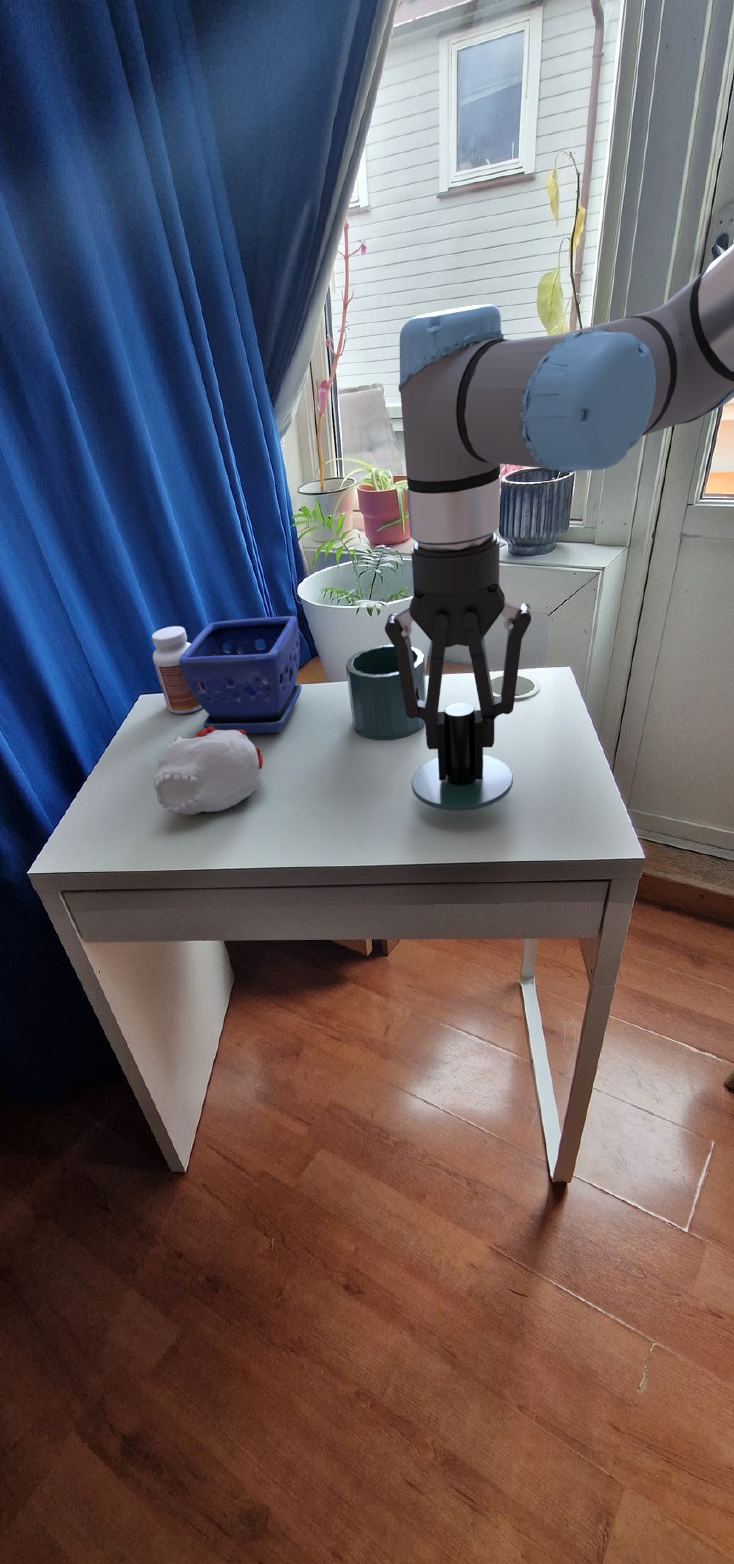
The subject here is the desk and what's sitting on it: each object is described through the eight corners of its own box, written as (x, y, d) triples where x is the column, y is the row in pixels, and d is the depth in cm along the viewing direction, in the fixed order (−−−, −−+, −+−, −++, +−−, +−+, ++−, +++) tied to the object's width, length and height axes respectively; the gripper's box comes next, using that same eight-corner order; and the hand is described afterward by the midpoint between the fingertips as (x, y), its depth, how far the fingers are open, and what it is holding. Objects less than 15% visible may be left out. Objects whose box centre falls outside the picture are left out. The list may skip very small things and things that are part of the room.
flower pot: (196, 743, 99) (173, 659, 91) (227, 698, 108) (208, 618, 101) (290, 742, 95) (273, 655, 88) (313, 695, 105) (300, 613, 97)
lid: (512, 760, 81) (514, 683, 75) (512, 815, 73) (514, 733, 67) (416, 763, 83) (411, 688, 78) (407, 816, 76) (400, 737, 70)
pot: (429, 703, 99) (426, 642, 93) (423, 738, 91) (419, 675, 86) (359, 705, 101) (352, 646, 95) (348, 740, 94) (340, 678, 88)
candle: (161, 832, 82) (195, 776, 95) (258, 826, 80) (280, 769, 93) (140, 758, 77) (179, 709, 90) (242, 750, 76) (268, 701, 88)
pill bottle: (217, 701, 108) (199, 628, 101) (184, 719, 105) (163, 644, 98) (192, 692, 112) (173, 620, 105) (160, 709, 109) (137, 636, 102)
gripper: (550, 515, 63) (539, 752, 78) (368, 533, 67) (390, 757, 82) (554, 540, 58) (541, 791, 72) (355, 559, 61) (381, 793, 76)
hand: (461, 772), depth 77 cm, fingers closed on lid, 3 cm apart
